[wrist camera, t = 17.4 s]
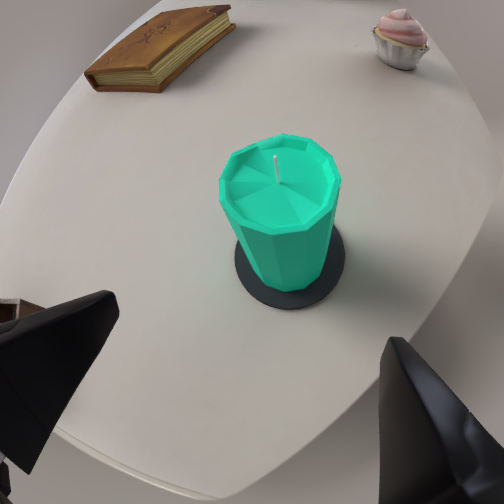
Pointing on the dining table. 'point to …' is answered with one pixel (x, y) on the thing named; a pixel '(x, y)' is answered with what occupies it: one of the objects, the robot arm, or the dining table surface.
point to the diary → (159, 50)
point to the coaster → (297, 297)
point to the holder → (16, 309)
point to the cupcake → (400, 40)
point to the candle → (282, 207)
